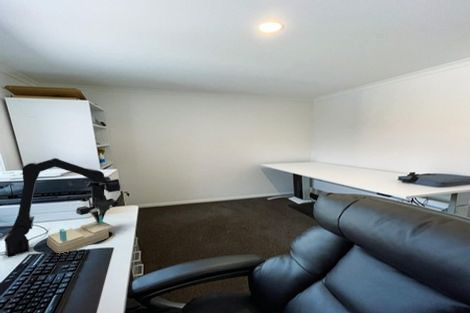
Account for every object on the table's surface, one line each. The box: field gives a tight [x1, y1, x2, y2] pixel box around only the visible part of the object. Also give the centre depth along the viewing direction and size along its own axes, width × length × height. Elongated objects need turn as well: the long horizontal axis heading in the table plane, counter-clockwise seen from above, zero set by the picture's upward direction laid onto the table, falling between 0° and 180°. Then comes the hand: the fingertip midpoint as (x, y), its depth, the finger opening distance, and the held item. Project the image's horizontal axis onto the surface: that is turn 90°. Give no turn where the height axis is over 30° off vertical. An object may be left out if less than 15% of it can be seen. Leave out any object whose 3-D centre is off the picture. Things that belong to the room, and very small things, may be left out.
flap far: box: [80, 213, 114, 234], centre depth 109 cm, size 9×15×5 cm, turn 56°
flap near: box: [47, 228, 84, 245], centre depth 98 cm, size 9×15×5 cm, turn 56°
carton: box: [46, 226, 110, 255], centre depth 103 cm, size 20×16×4 cm
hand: (99, 222), depth 113 cm, fingers closed on flap far
